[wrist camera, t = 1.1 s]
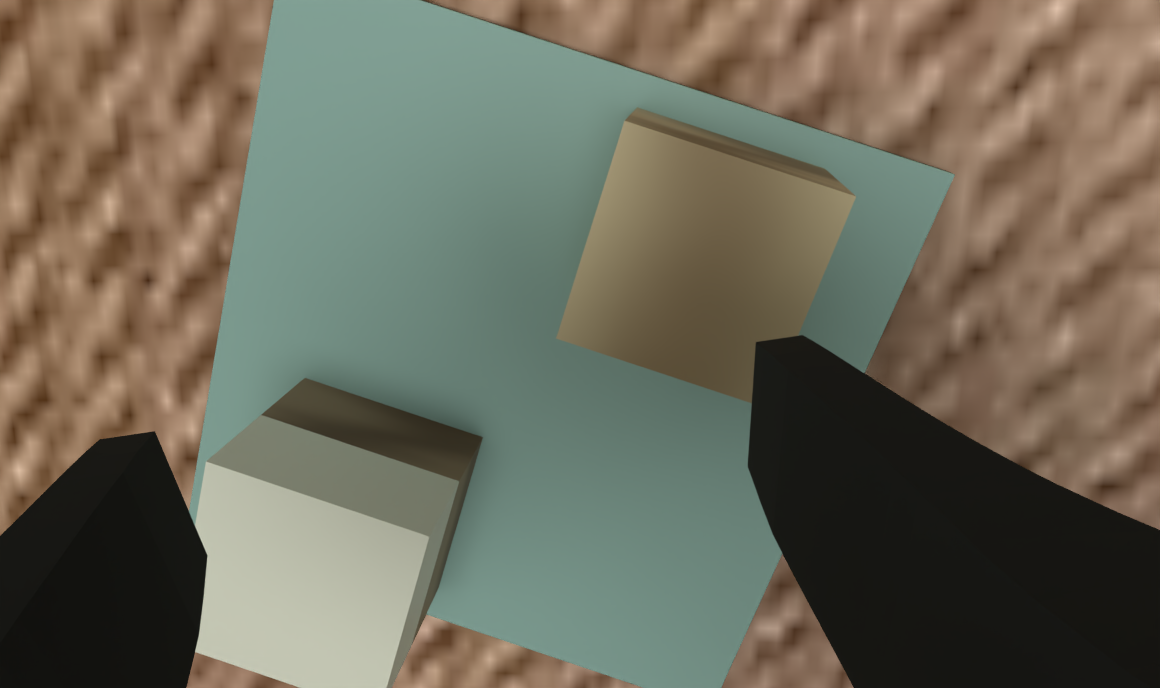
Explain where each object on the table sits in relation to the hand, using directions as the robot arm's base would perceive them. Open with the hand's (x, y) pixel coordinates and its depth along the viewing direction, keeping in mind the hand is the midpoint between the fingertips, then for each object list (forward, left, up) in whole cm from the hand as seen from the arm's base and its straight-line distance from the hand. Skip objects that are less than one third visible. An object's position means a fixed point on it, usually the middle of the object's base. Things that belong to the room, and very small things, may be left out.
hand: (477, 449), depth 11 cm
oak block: (-2, -1, -11) cm, 11 cm away
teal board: (+1, +4, -11) cm, 12 cm away
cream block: (+4, +8, -9) cm, 12 cm away
